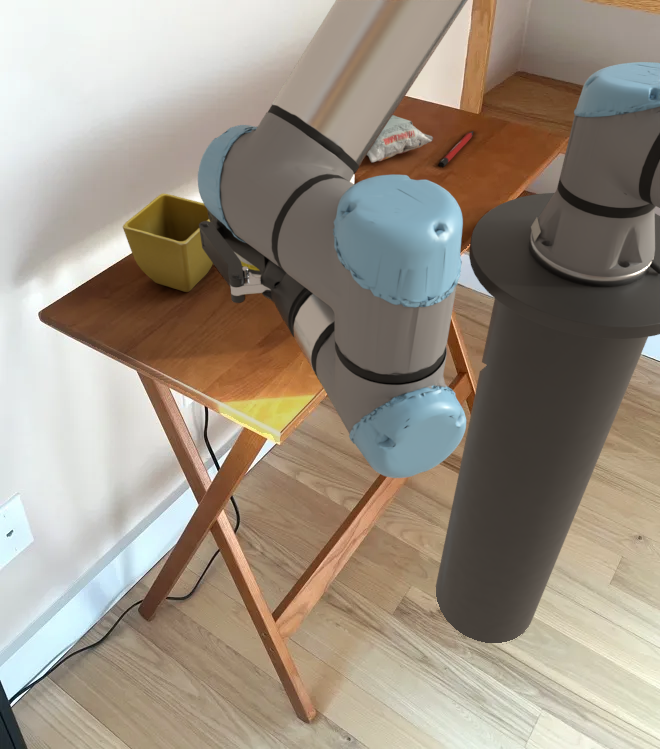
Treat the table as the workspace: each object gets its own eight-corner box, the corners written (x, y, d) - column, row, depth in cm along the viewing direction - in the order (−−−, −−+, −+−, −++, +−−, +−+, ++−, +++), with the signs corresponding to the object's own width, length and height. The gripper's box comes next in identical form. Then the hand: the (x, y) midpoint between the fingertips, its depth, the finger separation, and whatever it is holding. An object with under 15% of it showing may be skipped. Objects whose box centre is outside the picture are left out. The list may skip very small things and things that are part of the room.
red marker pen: (475, 134, 122) (476, 128, 122) (443, 168, 114) (444, 162, 113) (470, 133, 123) (471, 127, 122) (438, 167, 114) (439, 161, 113)
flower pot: (230, 268, 93) (223, 207, 87) (194, 306, 88) (184, 243, 81) (172, 252, 96) (162, 191, 90) (134, 288, 90) (120, 226, 84)
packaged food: (431, 153, 116) (434, 124, 113) (371, 173, 112) (373, 143, 108) (398, 134, 122) (400, 105, 118) (340, 152, 117) (340, 122, 114)
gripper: (222, 380, 58) (157, 234, 73) (435, 321, 64) (333, 197, 79) (212, 307, 53) (145, 167, 68) (444, 250, 58) (333, 132, 74)
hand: (246, 183), depth 73 cm, fingers closed on pill bottle, 6 cm apart
